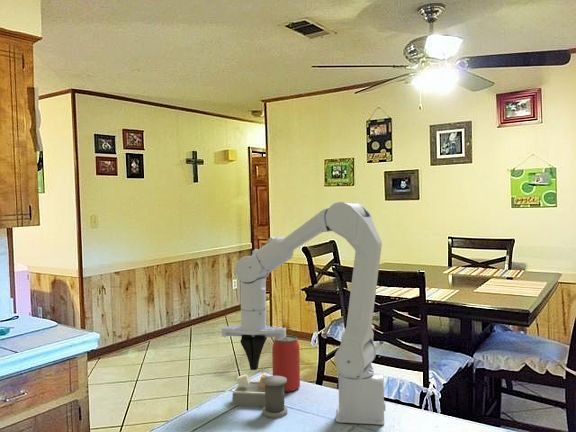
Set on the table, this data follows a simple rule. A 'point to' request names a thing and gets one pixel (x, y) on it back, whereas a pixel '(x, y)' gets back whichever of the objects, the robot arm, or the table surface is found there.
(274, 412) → the cord spool
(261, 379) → the orange cube
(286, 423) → the table surface
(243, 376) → the cream cube
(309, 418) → the table surface
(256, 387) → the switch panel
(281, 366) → the beer can
